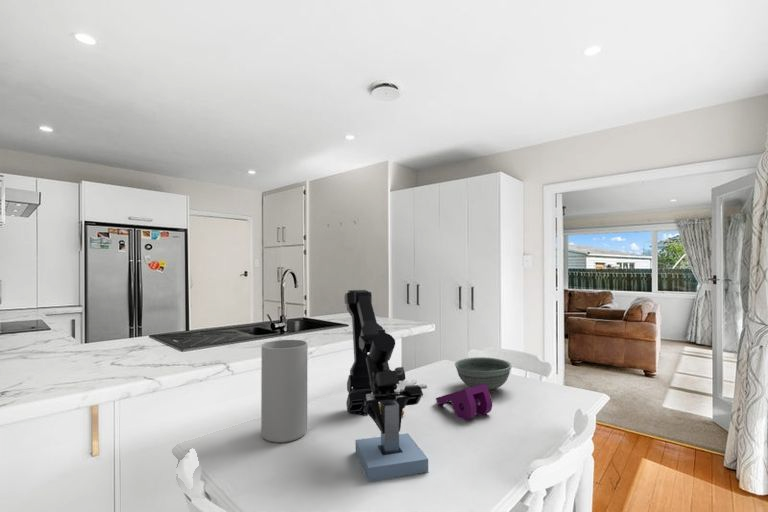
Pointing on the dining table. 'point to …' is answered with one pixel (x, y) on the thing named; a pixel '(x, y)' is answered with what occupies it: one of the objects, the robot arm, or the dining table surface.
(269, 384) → the cylinder vase
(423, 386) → the bunny figurine
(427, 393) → the dining table surface
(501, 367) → the bowl
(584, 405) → the dining table surface
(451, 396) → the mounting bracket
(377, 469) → the blue square washer
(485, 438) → the dining table surface
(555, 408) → the dining table surface
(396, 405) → the grey tapered peg
